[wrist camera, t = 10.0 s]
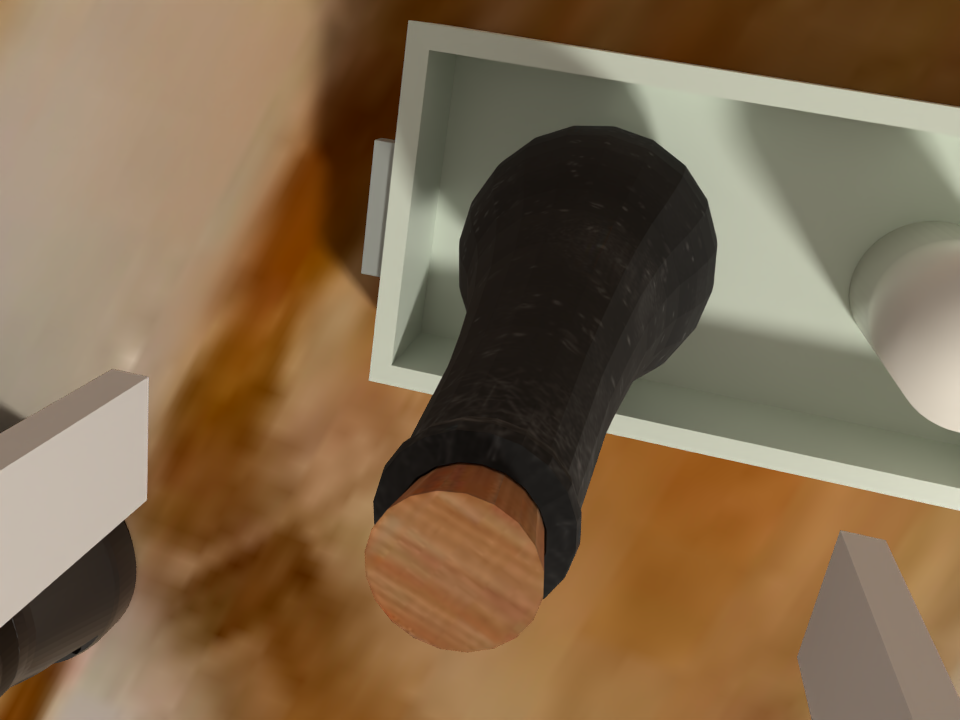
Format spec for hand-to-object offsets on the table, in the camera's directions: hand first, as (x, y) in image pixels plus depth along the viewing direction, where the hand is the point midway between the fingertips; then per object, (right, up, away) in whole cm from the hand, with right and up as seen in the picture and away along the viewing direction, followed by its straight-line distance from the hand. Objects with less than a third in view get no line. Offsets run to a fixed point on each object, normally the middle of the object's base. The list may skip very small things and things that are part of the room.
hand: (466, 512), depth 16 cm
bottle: (+6, +9, +26) cm, 28 cm away
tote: (+12, +8, +26) cm, 29 cm away
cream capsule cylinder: (+20, +6, +24) cm, 32 cm away
